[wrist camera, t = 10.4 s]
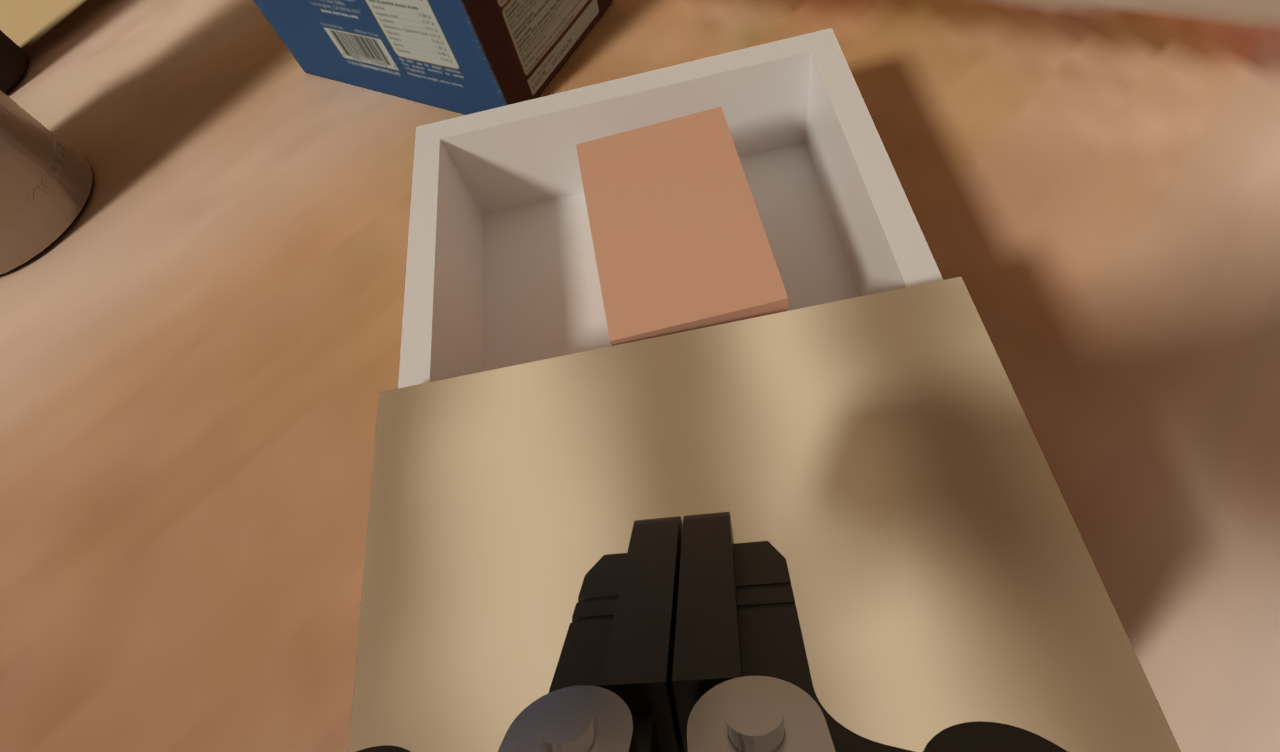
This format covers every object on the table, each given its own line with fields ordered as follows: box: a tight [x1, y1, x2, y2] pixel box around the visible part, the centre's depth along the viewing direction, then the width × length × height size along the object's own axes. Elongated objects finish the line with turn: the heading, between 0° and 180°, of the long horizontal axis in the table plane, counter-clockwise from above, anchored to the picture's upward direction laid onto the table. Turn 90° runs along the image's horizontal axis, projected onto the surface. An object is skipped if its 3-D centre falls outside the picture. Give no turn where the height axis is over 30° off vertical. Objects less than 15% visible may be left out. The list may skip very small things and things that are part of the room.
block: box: [576, 106, 788, 346], centre depth 22 cm, size 5×5×8 cm
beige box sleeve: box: [348, 277, 1181, 752], centre depth 17 cm, size 16×11×6 cm
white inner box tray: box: [398, 28, 943, 388], centre depth 23 cm, size 16×12×5 cm
